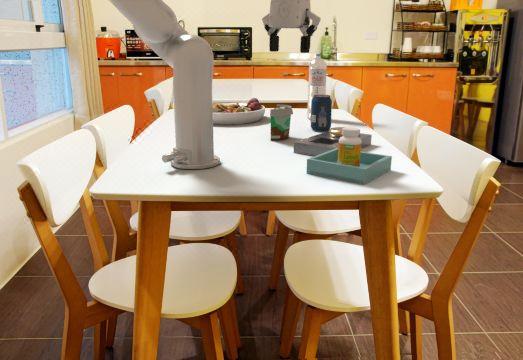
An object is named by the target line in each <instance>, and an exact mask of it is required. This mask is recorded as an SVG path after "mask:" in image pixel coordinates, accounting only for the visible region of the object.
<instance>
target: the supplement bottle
mask: <svg viewBox="0 0 523 360" xmlns="http://www.w3.org/2000/svg"><path fill="white" fill-rule="evenodd" d="M344 127H345V128H343V129H342V134H343V136H342V137H340V139H339V144H338V161H337V163H339V164H345V165H351V166H356V167H360V155H361V152H362V148H361V143H362V141H361V139H360V138H359V137H358V135H359V130H360V129H359V128H358V127H354V126H353V127H352V126H350V127H349V126H348V127H347V126H344Z"/></svg>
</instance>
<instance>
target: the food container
mask: <svg viewBox="0 0 523 360" xmlns="http://www.w3.org/2000/svg"><path fill="white" fill-rule="evenodd" d="M269 110H270V111H269V115H270V116H269V117H270V142H271V141H272V142H278V141H280V142H281V141H286V140H289V138H290V129H291V119H292V118H291V117H292V115H293V114H294V112H293V108H292V106H291V105H288V104H281V103H280V104H279V103H277V104H276V107H275V108H273V109H272V108H271V109H269Z"/></svg>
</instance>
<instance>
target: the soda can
mask: <svg viewBox="0 0 523 360" xmlns="http://www.w3.org/2000/svg"><path fill="white" fill-rule="evenodd" d="M332 104H333V100H332V98H331V95H330V94H326V95H314V97H313V99H312V103H311V120H310V129H311V130H312V131H313V132H319V133H321V132H322V133H325V132H328V131H330V129H331V128H332V112H333V111H332V107H333V105H332Z"/></svg>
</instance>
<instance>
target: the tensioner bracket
mask: <svg viewBox="0 0 523 360" xmlns="http://www.w3.org/2000/svg"><path fill="white" fill-rule="evenodd" d="M345 127H346V126H336V127H331V128H330V129H329V131H327V132H322V133H321V132H320V133H318V134H316V135H312V136H309V137H306V138H303V139H299V140H296V141H294V142H293V153H295V154H300V155H308V156H312V157H314V156H317V155H319V154H322V153H325V152H327V151H330V150H332V149H335V148H338V144H339V139H340V137H342V136H343V134H342V129H343V128H345ZM372 136H373V135H372V134H369V133H361V130H360V129H359V135H358V137H359V138H360V139H361V141H362V143H361V149H364V148H365V147H368V146H371V145H372Z"/></svg>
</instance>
